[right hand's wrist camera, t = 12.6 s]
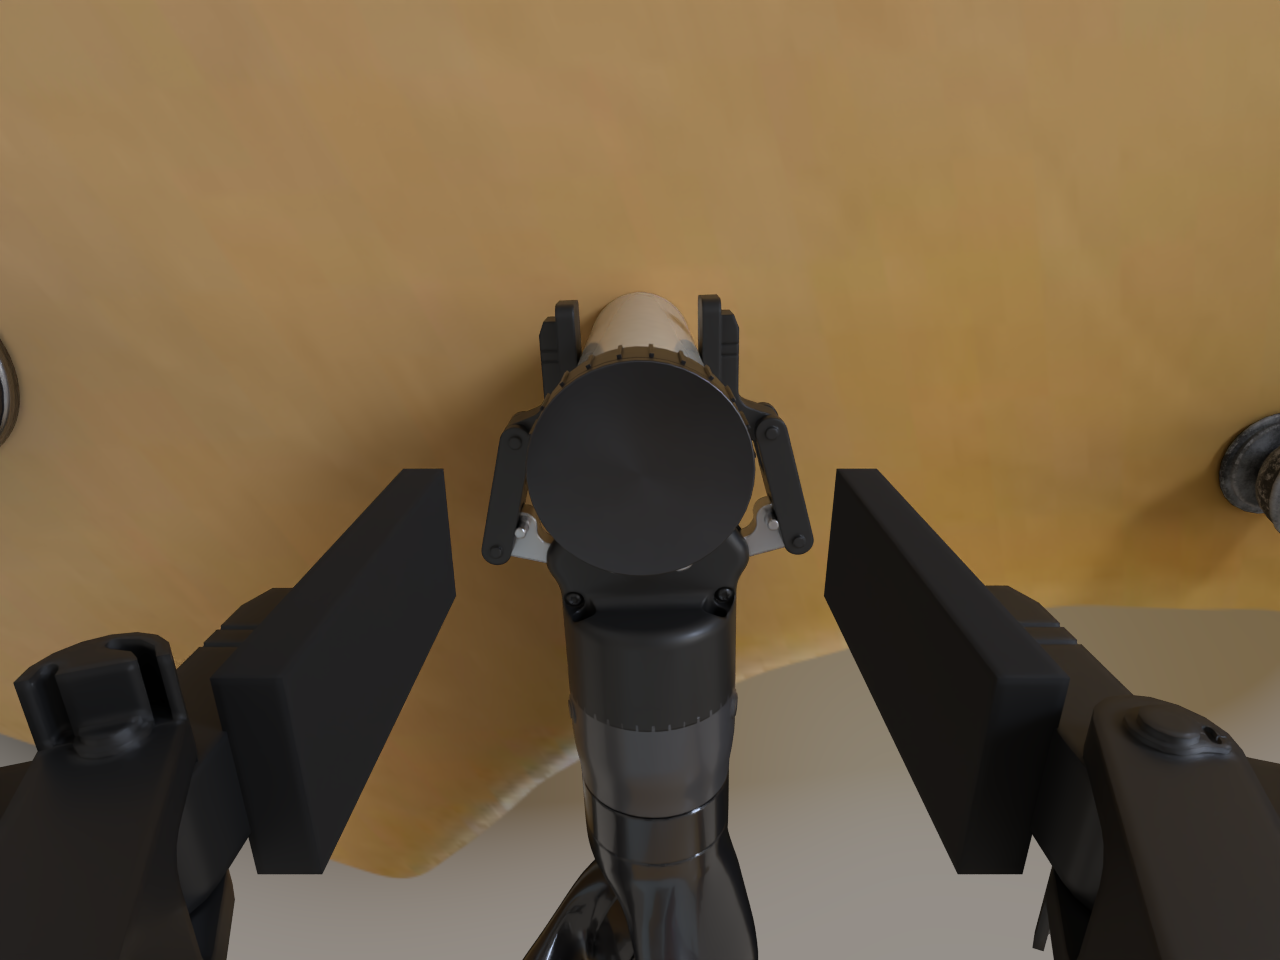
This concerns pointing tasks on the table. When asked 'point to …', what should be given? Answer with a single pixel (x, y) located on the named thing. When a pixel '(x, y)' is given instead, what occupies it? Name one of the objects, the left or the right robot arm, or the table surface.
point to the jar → (640, 327)
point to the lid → (640, 461)
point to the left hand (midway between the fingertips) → (638, 301)
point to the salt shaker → (1254, 469)
